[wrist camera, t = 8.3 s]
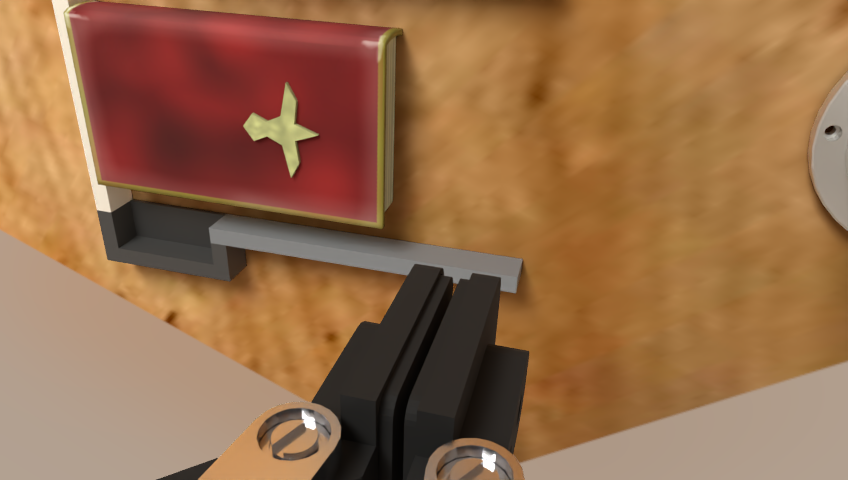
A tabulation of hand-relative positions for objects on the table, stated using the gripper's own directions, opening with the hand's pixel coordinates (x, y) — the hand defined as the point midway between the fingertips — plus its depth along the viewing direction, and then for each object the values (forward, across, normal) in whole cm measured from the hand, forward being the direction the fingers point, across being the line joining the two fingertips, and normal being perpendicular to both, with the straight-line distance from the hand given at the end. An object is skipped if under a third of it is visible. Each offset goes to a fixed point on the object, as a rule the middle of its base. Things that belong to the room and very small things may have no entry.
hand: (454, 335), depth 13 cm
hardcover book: (+30, +20, +5) cm, 36 cm away
